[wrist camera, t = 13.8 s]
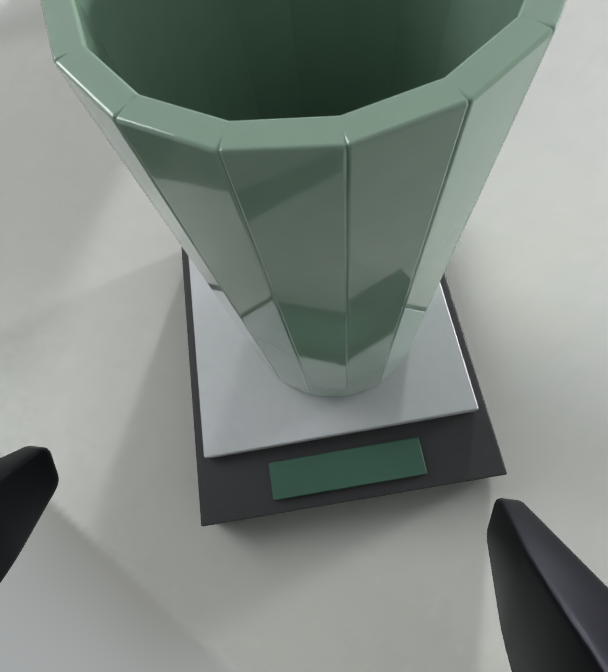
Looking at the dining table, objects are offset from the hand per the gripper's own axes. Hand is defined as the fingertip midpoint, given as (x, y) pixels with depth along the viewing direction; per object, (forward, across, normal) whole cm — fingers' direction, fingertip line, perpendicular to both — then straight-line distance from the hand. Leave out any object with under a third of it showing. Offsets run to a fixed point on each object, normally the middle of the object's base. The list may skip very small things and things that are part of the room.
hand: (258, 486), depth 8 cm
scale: (+12, 0, +3) cm, 12 cm away
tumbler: (+11, -1, +1) cm, 11 cm away
